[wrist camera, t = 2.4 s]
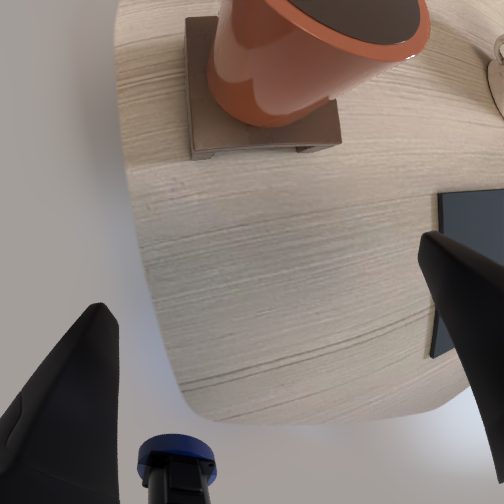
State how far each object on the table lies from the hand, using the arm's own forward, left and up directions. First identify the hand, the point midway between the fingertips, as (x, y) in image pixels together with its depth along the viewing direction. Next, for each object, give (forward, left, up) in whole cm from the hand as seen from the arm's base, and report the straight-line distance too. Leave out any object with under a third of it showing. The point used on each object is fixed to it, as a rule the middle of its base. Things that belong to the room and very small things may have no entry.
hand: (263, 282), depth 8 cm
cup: (+9, +1, -8) cm, 12 cm away
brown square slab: (+9, +1, -12) cm, 15 cm away
